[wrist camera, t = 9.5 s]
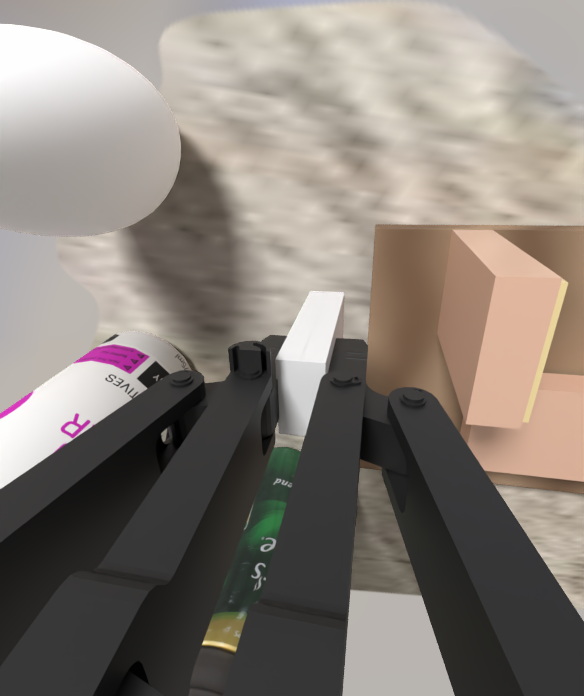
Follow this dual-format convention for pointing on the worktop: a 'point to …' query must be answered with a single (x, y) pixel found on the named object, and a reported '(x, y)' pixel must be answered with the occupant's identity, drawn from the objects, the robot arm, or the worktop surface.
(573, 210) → the worktop surface
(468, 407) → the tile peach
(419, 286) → the board
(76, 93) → the sauce bottle
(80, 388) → the supplement can
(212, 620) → the coffee jar
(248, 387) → the robot arm
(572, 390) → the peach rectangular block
